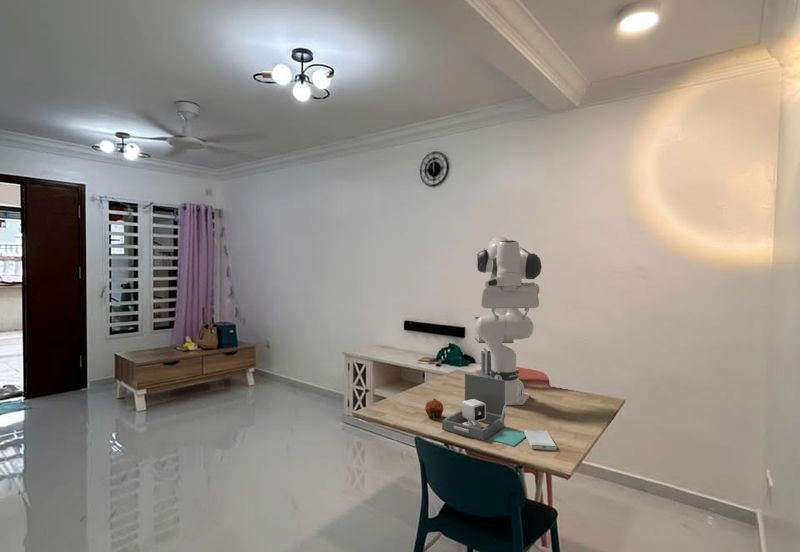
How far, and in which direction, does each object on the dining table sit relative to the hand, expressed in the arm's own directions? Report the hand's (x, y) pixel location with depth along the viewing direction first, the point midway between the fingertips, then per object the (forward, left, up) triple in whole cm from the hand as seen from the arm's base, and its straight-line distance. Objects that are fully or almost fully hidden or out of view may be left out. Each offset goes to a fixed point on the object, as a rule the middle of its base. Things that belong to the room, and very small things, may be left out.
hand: (510, 320), depth 154 cm
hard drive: (0, +11, -42) cm, 43 cm away
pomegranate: (+2, -32, -42) cm, 52 cm away
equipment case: (+2, -14, -42) cm, 44 cm away
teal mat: (+3, +1, -42) cm, 42 cm away
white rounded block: (+2, -14, -42) cm, 44 cm away
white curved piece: (-68, -40, -42) cm, 89 cm away
